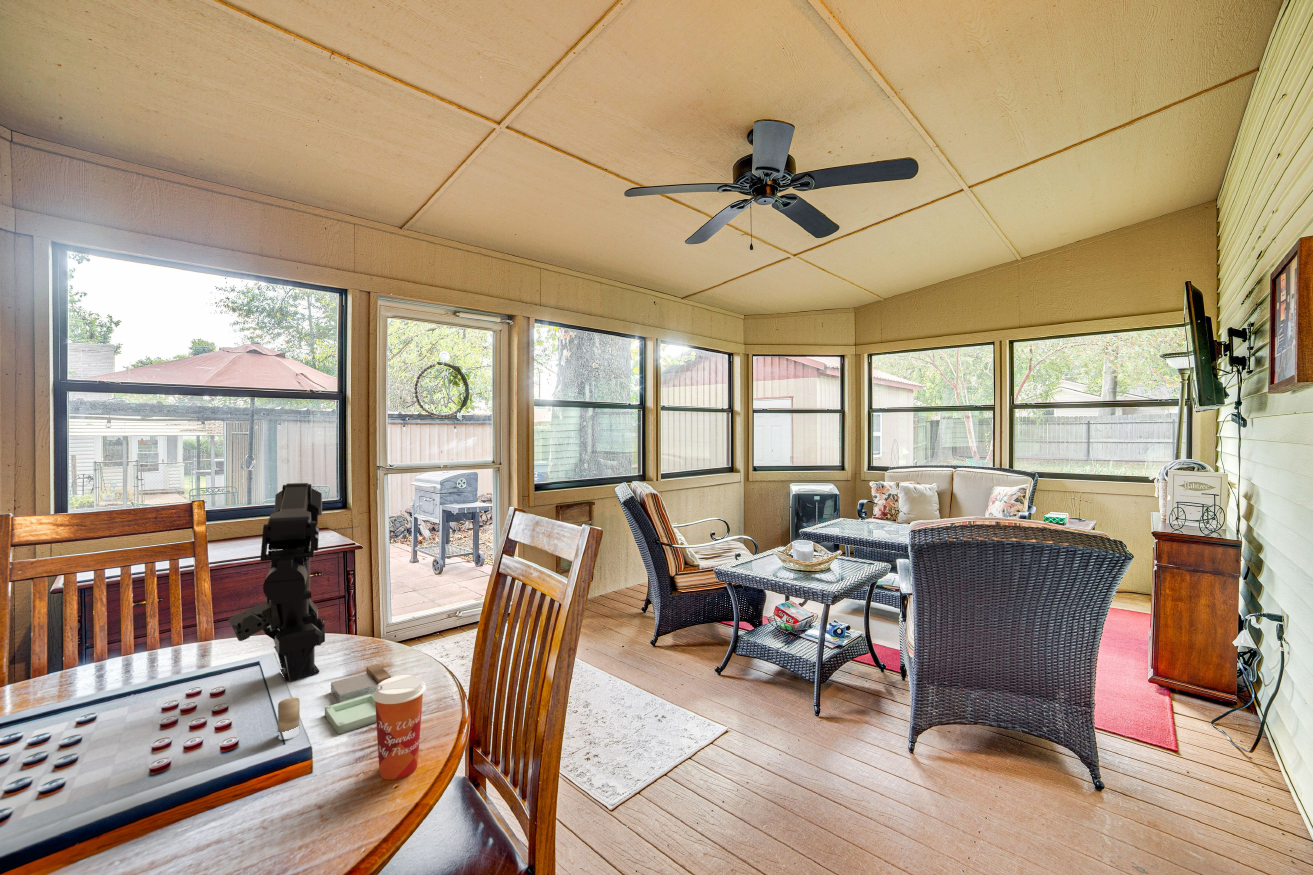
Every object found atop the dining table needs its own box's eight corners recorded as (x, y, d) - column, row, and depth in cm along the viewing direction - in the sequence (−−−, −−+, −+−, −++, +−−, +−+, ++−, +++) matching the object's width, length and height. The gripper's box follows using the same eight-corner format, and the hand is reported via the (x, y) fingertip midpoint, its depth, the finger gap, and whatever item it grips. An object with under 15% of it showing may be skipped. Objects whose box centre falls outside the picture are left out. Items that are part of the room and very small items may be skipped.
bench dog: (366, 680, 122) (366, 666, 122) (378, 677, 123) (378, 663, 123) (378, 693, 116) (378, 679, 116) (391, 690, 118) (391, 676, 118)
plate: (330, 694, 116) (330, 682, 116) (367, 684, 121) (367, 672, 121) (339, 707, 111) (339, 694, 111) (377, 696, 116) (377, 684, 116)
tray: (324, 714, 107) (324, 707, 107) (375, 699, 114) (375, 692, 114) (338, 734, 101) (338, 726, 101) (390, 717, 107) (390, 709, 107)
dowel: (276, 734, 100) (276, 701, 100) (297, 728, 103) (297, 695, 103) (279, 742, 98) (280, 708, 98) (301, 735, 100) (301, 702, 100)
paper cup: (372, 789, 86) (373, 699, 86) (371, 762, 93) (372, 678, 93) (427, 775, 90) (428, 689, 89) (423, 750, 97) (423, 669, 96)
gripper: (225, 583, 101) (225, 669, 101) (241, 609, 87) (241, 709, 88) (297, 572, 109) (297, 653, 109) (323, 595, 95) (322, 687, 95)
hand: (289, 673), depth 100 cm, fingers open, 7 cm apart
